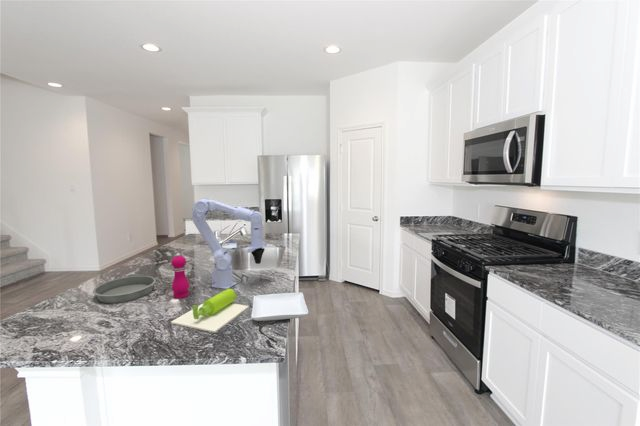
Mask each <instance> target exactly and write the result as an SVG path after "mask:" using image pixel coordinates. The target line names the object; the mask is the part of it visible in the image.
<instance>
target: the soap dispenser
mask: <svg viewBox="0 0 640 426" xmlns="http://www.w3.org/2000/svg"><path fill="white" fill-rule="evenodd" d="M236 298H237V294H236V292H235V290H234V289H232V288H231V287H230V288H228V289H223V291H221V292H219V293H218V294H215V295H214V296H212V297H210V298H208V299H206V300H205V301H203V303H202V304H203V306H202V307H201V308H199V311H198V306H199V305H198V304H193V305H192V309H193V316H194V319H199V316H200V315H201V316H205V315H206V314H208V315H213V314H214V313H216V312H217V311H219V310H220V309H222V308H224V307H225V306H227V305H228V304H230V303H233V302H235V300H236Z"/></svg>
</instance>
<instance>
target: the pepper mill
mask: <svg viewBox="0 0 640 426" xmlns="http://www.w3.org/2000/svg"><path fill="white" fill-rule="evenodd" d="M170 263H171V266H172V267H173V268H172V270H173V272H174V278H173V281H172V284H171V290H172V291H173V298H174V299H184V298H187V297H188V296H189V295H190V293H189V291H190V290H189V288H190V283H189V281H188V279H187V277H186V273H185V271H186V265H187V259H186V258H185V256H182V255H181V253H180V252H177V253H176V254H175V256H174V257H173V258H172V259H171V262H170Z"/></svg>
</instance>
